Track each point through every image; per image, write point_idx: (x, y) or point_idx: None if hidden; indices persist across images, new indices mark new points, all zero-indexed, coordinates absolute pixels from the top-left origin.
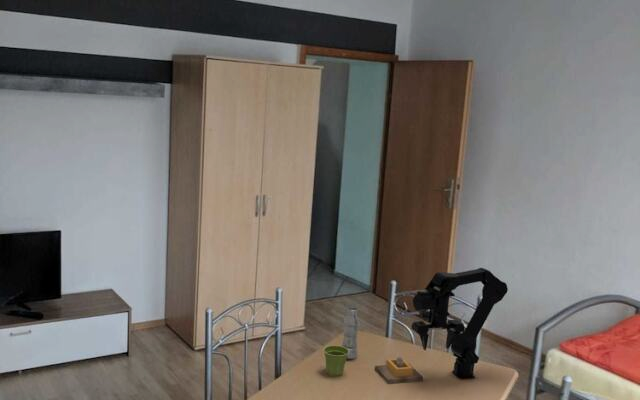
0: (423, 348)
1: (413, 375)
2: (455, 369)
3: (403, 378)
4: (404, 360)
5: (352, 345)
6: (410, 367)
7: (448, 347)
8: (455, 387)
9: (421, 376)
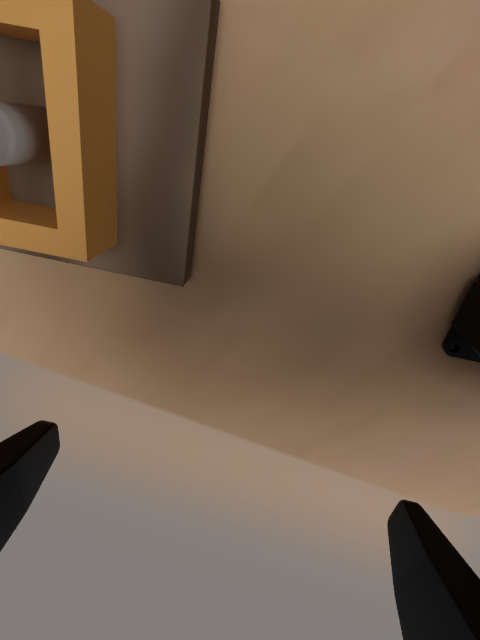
0: (30, 434)
1: (126, 243)
2: (478, 318)
3: (39, 255)
4: (70, 71)
5: None
6: (69, 243)
7: (400, 554)
8: (320, 402)
9: (175, 275)
